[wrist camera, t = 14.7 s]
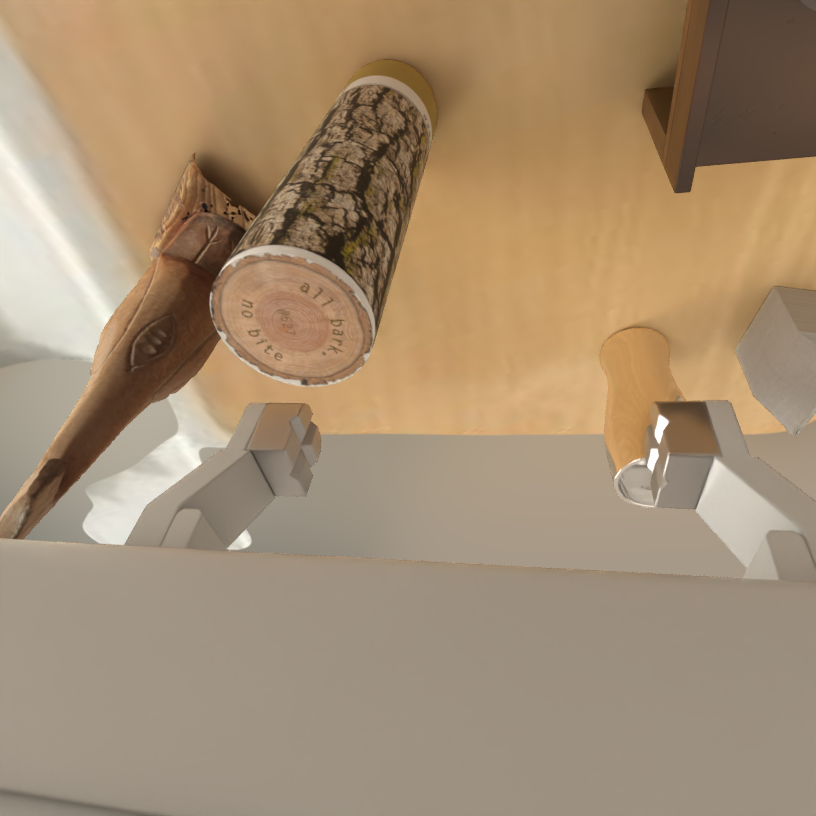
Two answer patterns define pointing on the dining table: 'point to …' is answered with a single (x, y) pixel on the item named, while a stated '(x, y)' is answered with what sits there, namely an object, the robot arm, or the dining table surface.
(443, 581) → the robot arm
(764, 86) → the bench
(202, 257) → the bird sculpture
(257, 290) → the wooden log
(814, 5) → the silver metal bottle
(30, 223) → the dining table surface
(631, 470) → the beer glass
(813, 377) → the paper bag
